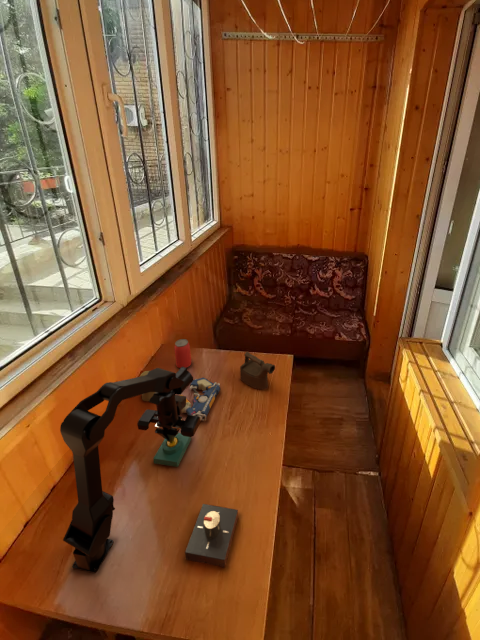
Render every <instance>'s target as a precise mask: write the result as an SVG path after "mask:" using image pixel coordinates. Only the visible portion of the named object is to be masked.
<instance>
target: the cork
mask: <svg viewBox="0 0 480 640" xmlns="http://www.w3.org/2000/svg"><path fill="white" fill-rule="evenodd" d="M149 371H150V370H145V371H143V372H142V373H141V374H140V375H139V377H141V376H145V375H147V374H148V372H149ZM154 393H155V392H149V393H145V394H142V395H141V400H142V401H143V402H149V400H150V398H151V397H152V396H153V394H154Z"/></svg>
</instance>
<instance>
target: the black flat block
mask: <svg viewBox="0 0 480 640" xmlns="http://www.w3.org/2000/svg"><path fill="white" fill-rule="evenodd" d="M211 511H216V512H218V513H219V515H220V524H221V530H220V533H219V535H218V536H217V537H215V538H213V539H209V538H207V537H206V535H205V529H204V517H205V516H206V515H207V514H208V513H209V512H211ZM238 519H239V510H238V509H235V508H229V507H225V506H224V507H223V506H218V505H213V504H207V503H202V505H201V508H200V511H199V513H198V515H197V518H196V522H195V524H194V527H193V529H192V532H191V535H190V537H189V540H188V543H187V546H186V548H185V550H184V556H185V560H186V561H191V562H196V563H201V564H206V565H211V566H216V567H221V568H226V567H227V562H228V557H229V554H230V550H231V546H232V543H233V538H234V535H235V531H236V527H237V523H238Z"/></svg>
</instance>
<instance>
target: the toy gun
mask: <svg viewBox="0 0 480 640" xmlns="http://www.w3.org/2000/svg"><path fill="white" fill-rule="evenodd" d="M189 390H193V392H194V393H193V399H192V404H191V402H190V401H189V400H188V398H186V407H184V408H183V409H182V414H187V416H188V415H194V416H199V417H200V422H201V421H202V422H206V421H207V417H208V414H209V412H210V410H211V408H212V407H213V406H212V405H213V404H214V402H215V399H216V398H217V396H218V395H219V393H220V391H221V384H220V383H219V382H218V383H217V381H214V382H211V381H210V380H208V379H207V378H206V377H205V376H204V377H200V378H195V379H193V382H192V383H191V384H190V385H189ZM197 390H199V391H200V390H202V394H200V392H199V391H197ZM181 396H185V395H184V394H181Z"/></svg>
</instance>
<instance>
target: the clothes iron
mask: <svg viewBox="0 0 480 640" xmlns="http://www.w3.org/2000/svg"><path fill="white" fill-rule="evenodd" d="M275 370H276V366H275V364H272V363H270V362H269V363H268V362H265V361H264V360H263V359H260V358H259V357H257V356H256V355H253V354H252V353H250V352H249V351H245V353H244V363H243V364H241V365H240V367H239V371H240V372H239V376H240V378H239V379H240V380H241V382H242V383H244V384H246V385H248V386H249V387H251V388H253V389H257V390H267V389H268V388H269V382H268V374H269V375H272V374H273V373H274V371H275Z"/></svg>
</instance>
